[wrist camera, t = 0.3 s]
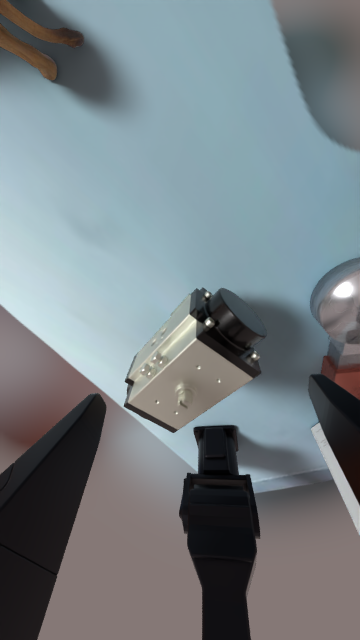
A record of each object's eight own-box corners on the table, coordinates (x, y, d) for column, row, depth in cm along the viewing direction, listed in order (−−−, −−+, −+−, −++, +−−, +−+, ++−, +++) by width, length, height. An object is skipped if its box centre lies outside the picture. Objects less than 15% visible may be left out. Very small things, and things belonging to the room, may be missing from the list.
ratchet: (363, 396, 28) (399, 442, 23) (299, 400, 29) (320, 444, 24) (409, 249, 19) (487, 273, 14) (313, 265, 20) (351, 291, 15)
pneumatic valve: (247, 286, 22) (288, 374, 12) (176, 353, 27) (161, 454, 17) (205, 250, 20) (209, 315, 10) (139, 329, 26) (98, 423, 15)
